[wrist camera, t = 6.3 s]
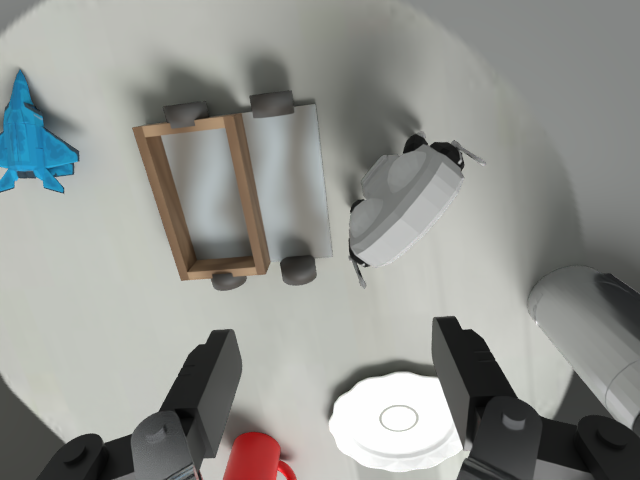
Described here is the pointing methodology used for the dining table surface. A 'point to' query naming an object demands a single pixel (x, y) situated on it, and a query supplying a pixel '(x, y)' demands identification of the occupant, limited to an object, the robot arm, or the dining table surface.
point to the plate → (395, 423)
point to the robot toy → (403, 200)
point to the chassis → (240, 189)
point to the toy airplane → (31, 144)
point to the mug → (256, 459)
